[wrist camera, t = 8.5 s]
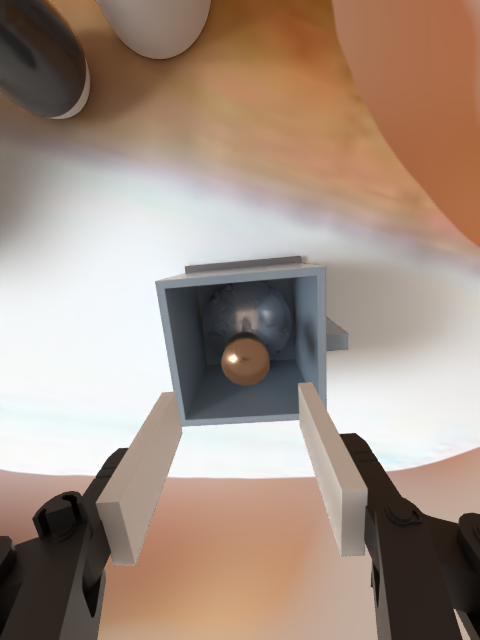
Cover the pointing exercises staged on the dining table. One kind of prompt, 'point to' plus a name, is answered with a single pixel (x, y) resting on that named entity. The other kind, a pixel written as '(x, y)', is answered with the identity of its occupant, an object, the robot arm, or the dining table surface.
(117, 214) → the dining table surface
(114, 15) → the cylinder vase
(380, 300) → the dining table surface
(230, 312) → the plunger
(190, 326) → the grey open bin
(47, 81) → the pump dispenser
